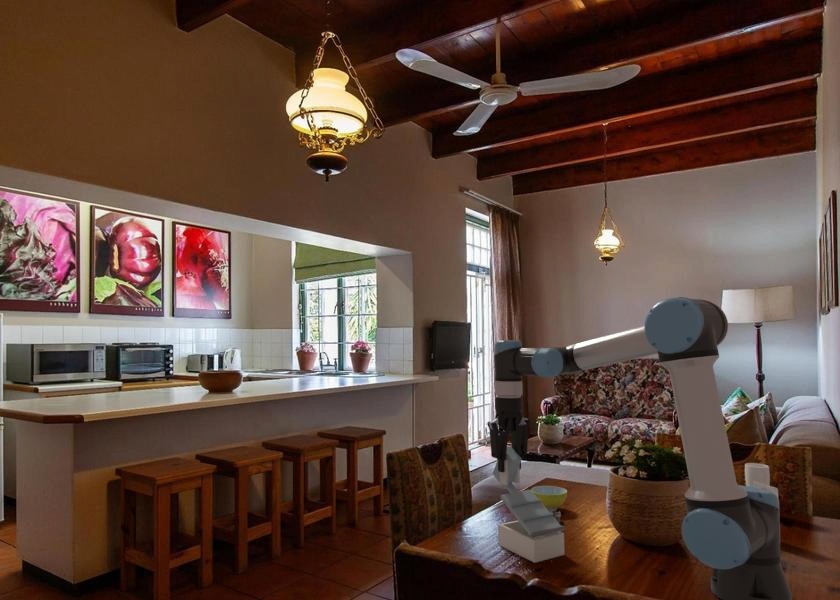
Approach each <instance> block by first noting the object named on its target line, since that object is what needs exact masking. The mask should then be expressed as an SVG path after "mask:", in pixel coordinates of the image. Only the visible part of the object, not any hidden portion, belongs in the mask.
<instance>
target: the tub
mask: <svg viewBox="0 0 840 600" xmlns="http://www.w3.org/2000/svg"><path fill="white" fill-rule="evenodd" d="M497 525H498V527H497V528H498V530H497V531H498V533H497V534H498V535H497V536H498V538H497V539H498V541H497V542H498V543H497V544H498V545H499V546H500V547H502V548H504V549H506V550H508V551H510V552H512V553H514V554H516V555H518V556H520V557H522V558H523V559H526V560H528V561H530V562H532V563H539V562H544V561H546V560H550V559H555V558H558V557H561V556H565V533H564V532H562V531H559V532H555V533H550V534H546V535H542V536H541V537H542V538H537V539H534V538H536V537H533V538H531V536H530V535H529V534H528V533H527V531H526V530H525V529H524V527H523V526H522V525H521V524H520V522H519V521H518V520H517V519H516V520H514V521H508V522H503V523H500V524H499V523H498V524H497Z"/></svg>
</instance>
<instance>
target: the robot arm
mask: <svg viewBox="0 0 840 600" xmlns="http://www.w3.org/2000/svg"><path fill="white" fill-rule="evenodd" d="M728 330H729V322H728V318H727V315H726V313H725V312H724V311H723V310H722V308H720V306H718V305H717V304H715V303H714V302H712V301H709V300H706V299H699V298H698V299H695V298H688V297H684V296H679V297H668V298H665V299H663V300H660V301H658V302H656V304H654V305H653V306H652V307H651V309H649V312H648V313H647V314H646V317H645V320H644V325H641V326H637V327H634V328H633V327H632V328H629V329H626V330H621V331H619V332H615V333H611V334H608V335H603V336H599V337H596V338H593V339H589V340H585V341H582V342H577V343H575V344H571V345H570V344H569V345H567V346H566V345H565V346H559V347H523V344H522V340H512V339H511V340H510V339H509V340H500V339H499V340H497V341H495V344H494V353H493V354H494V355H493V358H494V359H493V360H494V395H496V396H495V397H494V409H495V412H496V414H495V417H494V419H493V420H492V421H490V420H489V421H487V423H486V424H487V427H488V429H489V440H490V455H491V458H495V459H496V461H497V460H498V471H499V472H500V483H501V484H504V485H508V460H505V459H506V451H507V447H508V441H509V440H508V439H509V436H510V442H511V447H512V448H513V449H514V451H515V452H516V453H517V454H518V455H519V456H520V457H521V458H522V459H525V456H526V455H527V454H528V441H529V440H528V437H529V427H530V423H531V419H530V418H525V417H524V416H523V414H522V411H523V410H524V409H523V405H524V403H523V402H524V401H523V400H524V399H523V397H522V396H523V392H524V391H523V376H528V377H529V376H530V377H541V378H556V377H557V376H560V375H574V374H578V373H581V372H583V371H588V370H592V369H595V368H600V367H604V366H609V365H614V364H617V363H618V364H619V363H623V362H627V361H632V360H636V359H641V358H645V357H650V356H653V355H657V356H658V357H657V358H658V361H659V364H660V366H661V367H663V368H664V369H666V370H667V371H668V373H669V378H670V383H671V389H672V395H673V398H674V400H673V401H674V404H675V411H676V415H677V420H678V426H679V432H680V436H681V442H682V447H683V451H684V452H683V453H684V458H685V463H686V468H687V469H686V470H687V474H688V479H689V484H690V486H689V488H688V490H687V491H686V492H685V493H684V500H685V506H686V512H687V514H686V516H685V517H684V519H683V521H682V525H681V536H682V539H683V542H684V543H685V546H686V548H687V549H688V551H689V552H690V553H691V554H692V555H693V557H695V558H696V559H697V560H698V561H699V562H701V563H703V565H706V566H707V567H710V568H713V571H712V574H711V577H710V590H711V592H712V594H713V595H714V596H715V595H716V596H715V597H717V598H718V599H719V598H720V599H719V600H721V599H722V600H793V598H792V597H793V596H792V595H793V594H792V590H791V588H790V586H789V582H788V580H787V578H786V575H785V572H784V570H783V567H782V564H781V561H782V560H781V530H780V531H779V517H780V505H779V506H778V500H779V497H778V498H777V496H776V495H775V494H774V493H773V492H771V491H770V490H769V491H768V490H764V489H760V488H755V487H749V486H746V485H743V484H741V485H740V484H738V483H737V479H736V474H735V473H736V472H735V468H734V464H733V458H732V453H731V448H730V443H729V439H728V433H727V429H726V425H725V419H724V414H723V408H722V403H721V399H720V395H719V394H720V393H719V390H718V386H717V385H718V384H717V379H716V375H715V369H714V364H715V363H716V362H717V361H718V359H719V358H720V353H719V350H718V346H719V345H720V344H721V343H723V341H724V340H725V338H726V336H727V334H728ZM522 459H521V460H522ZM521 469H522V461H521V462H520V464H519V467H518V469H517V472H516V475H515V477H514V480H513V482H512V483H516V484H520V482H521V480H520V479H521V478H520V473H521V472H520V470H521ZM500 483H499V484H500ZM501 484H500V485H501Z"/></svg>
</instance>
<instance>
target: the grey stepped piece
mask: <svg viewBox="0 0 840 600" xmlns="http://www.w3.org/2000/svg"><path fill="white" fill-rule="evenodd" d="M505 460H508V485H504V484H501V483H500V472H499V471H498V460H497V459H496V463H495V466H494V469H493V472H492V475H493V476H494V478H495V479H496V480H497V481H498V483H499V484H500V485H501V486H502V487H504V488H506V490H507V491H508V492H507V493H504V494H500V497H499V498H500V500H501V501H502V503H504V504H505V506H506V507H507V508H508V510H509V511H510V512H511V513H512V514H513V517H515V518H516V521H517V520H518V521H519V522H520V524H521V525H522V526H523V527H524V529H525V530H526V531H527V533H528V534H529V535H530V536H531V538H533V537H538V536H542V535H546V534H550V533H555V532H562V531H565V530H566V526H565V525H561V524H560V522H559V523H558V522H557V520H556V519H555V518H554V517H553V513H552V512H551V513H550V512H549V511H548V510H547V509H546V507H545V506H544V505H543V504H542V503H541V499H538V498H537V497H536V496H535V495H534V493H533V492H532V491H531V489H525V490H520V491H518V489H517V488H516V486H515V485H514V484H513V483H514V482H513V480H514V477H515V475H516V472H517V469H518V467H519V464H520V462H521V463H522V458H521V457H520V456H519V455H518V454H517V453H516V452H515V451H514V449H513V448H512V446H507V451H506V459H505Z"/></svg>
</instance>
